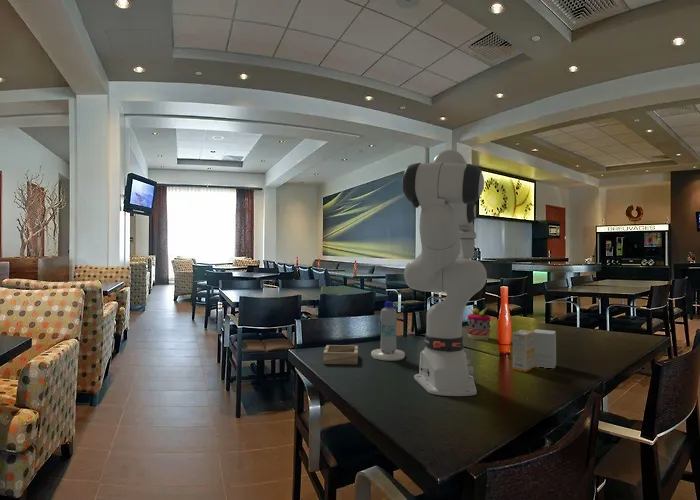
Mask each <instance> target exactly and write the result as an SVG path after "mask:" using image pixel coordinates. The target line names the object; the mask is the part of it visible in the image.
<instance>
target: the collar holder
mask: <svg viewBox="0 0 700 500" xmlns="http://www.w3.org/2000/svg"><path fill="white" fill-rule="evenodd" d="M322 355H323V360H322V361H323V362H322V363H323V365H358V360H359V359H358V358H359V357H358V355H359V345H354V344H351V345H350V344H349V345H345V344H344V345H343V344H342V345H341V344H340V345H339V344H326V346H325V347H324V350H323V353H322Z"/></svg>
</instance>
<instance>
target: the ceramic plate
mask: <svg viewBox="0 0 700 500" xmlns="http://www.w3.org/2000/svg"><path fill="white" fill-rule="evenodd" d="M405 355H406V353H405V351H403V350H400V349H397V348H396V351H395V353H391V354H389V351H387V353H383V352H382V351H381V348H376V349H372V351H371V353H370V357H371V356H372V357H373V358H372V357H371V358H372V359H374V360H378V361H387V362H391V361H401V360H403V359H405V357H406V356H405Z"/></svg>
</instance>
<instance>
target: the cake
mask: <svg viewBox="0 0 700 500" xmlns="http://www.w3.org/2000/svg"><path fill="white" fill-rule="evenodd" d="M487 311H488V306H486V307H485V308H484V309H482V310H481V311H480V310H479V309H478V308H473V309H472V313H469V314H467V322H466V323H467V328H466V330H467V338H468V337H469V338H471V339H470V340H473V339H476V340H475V341H488V340H487V339H489V340H490V334H491V324H490V323H491V316H490V315H488V314H486V312H487ZM469 338H468V339H469Z"/></svg>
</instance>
